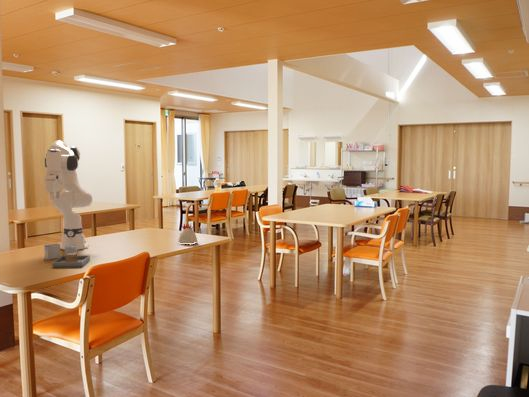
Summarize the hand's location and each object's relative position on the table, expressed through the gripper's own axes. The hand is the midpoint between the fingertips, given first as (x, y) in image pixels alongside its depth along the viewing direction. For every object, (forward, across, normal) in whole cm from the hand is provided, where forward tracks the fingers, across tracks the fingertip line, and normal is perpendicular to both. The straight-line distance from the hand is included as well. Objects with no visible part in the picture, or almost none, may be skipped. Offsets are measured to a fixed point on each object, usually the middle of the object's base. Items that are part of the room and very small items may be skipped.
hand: (55, 199), depth 275 cm
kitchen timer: (+38, -50, +77) cm, 99 cm away
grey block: (+37, -1, +8) cm, 38 cm away
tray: (+37, +12, +12) cm, 41 cm away
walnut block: (+36, +12, +12) cm, 40 cm away
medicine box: (+37, -5, -4) cm, 38 cm away
